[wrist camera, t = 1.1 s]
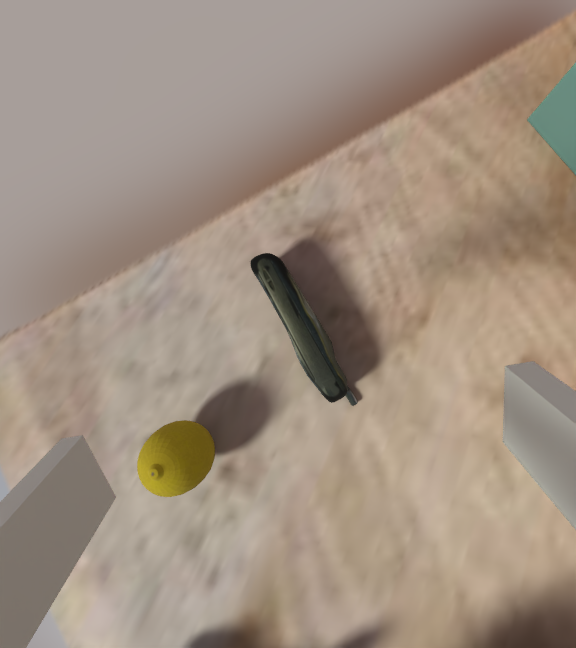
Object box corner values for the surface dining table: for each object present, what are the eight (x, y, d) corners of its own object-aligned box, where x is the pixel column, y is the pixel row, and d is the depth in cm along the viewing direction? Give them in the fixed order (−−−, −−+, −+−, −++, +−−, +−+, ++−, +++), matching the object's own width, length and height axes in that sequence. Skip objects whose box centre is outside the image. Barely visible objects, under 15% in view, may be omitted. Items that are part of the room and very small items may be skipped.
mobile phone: (241, 261, 27) (334, 426, 25) (272, 242, 27) (370, 407, 25) (256, 276, 32) (335, 415, 30) (282, 260, 32) (364, 398, 29)
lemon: (183, 403, 32) (134, 421, 24) (235, 427, 31) (202, 454, 23) (161, 457, 31) (104, 493, 24) (212, 483, 31) (171, 529, 23)
